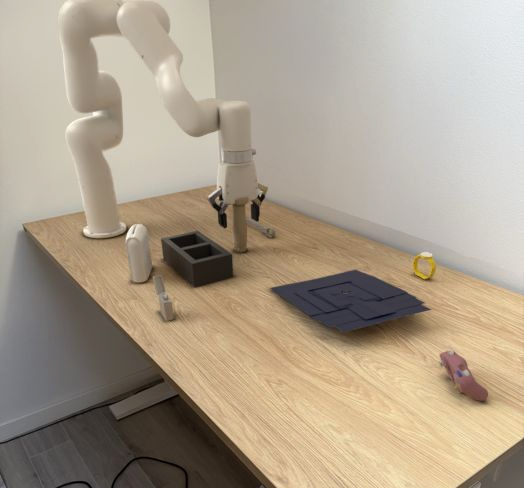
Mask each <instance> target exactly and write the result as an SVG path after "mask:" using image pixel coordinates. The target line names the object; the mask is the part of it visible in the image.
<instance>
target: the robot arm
mask: <svg viewBox="0 0 524 488" xmlns="http://www.w3.org/2000/svg"><path fill="white" fill-rule="evenodd" d="M57 30H58V31H57V32H58V36H59V41H60V47H61V51H62V62H63V71H64V72H63V73H64V82H65V91H66V99H67V102H68V104H69V106H70V108H71V109H72V111H74V112H75V113H78V114H91V113H92V114H93V115H90V116H86V117H85V116H84V117H82V118H77V119H75V120H73V121H71V122H70V123H69V124H68V125H67V127H66V129H65V134H64V136H65V137H64V138H65V142H66V146H67V148H68V151H69V153H70V156H71V158H72V162H73V165H74V168H75V172H76V177H77V181H78V187H79V190H80V197H81V201H82V206H83V210H84V215H85V220H86V224H87V225H86V226H85V227H83V229H82V231H83V235H84V236H86V237H88V238H91V239H107V238H113V237H117V236H120V235H122V234H124V233H125V232H126V231H127V225H126V224H125V223H124V222H122V221H121V219H120V212H119V207H118V201H117V195H116V190H115V183H114V178H113V173H112V169H111V166H110V164H109V162H108V160H107V159H106V157H105V155H104V152H108V151H111V150H113V149H115V148H117V147H118V146H120V144H121V143H122V141H123V138H124V116H123V115H124V114H123V113H124V112H123V96H122V95H123V94H122V91H121V87H120V84H119V82H118V81H117V79H116V78H115V76H113V74H112V73H111V72H108V71H106V70H102V69H101V70H100V65H99V55H98V52H97V49H96V46H95V44H94V42H93V41H92V40H93V39H95V38H96V39H97V38H120V37H121V38H124V39H125V40H126V42H127V43H128V44H129V45H130V46H131V49H133V51H134V52H135V54H137V57H139V58H140V60H141V61H142V62H143V63H144V65H145V67H147V69H148V70H149V71H150V73H151V74H152V75H153V78H154V79H155V82H156V88H157V91H158V95H159V98H160V101H161V103H162V105H163V107H164V109H165V110H166V112H167V113H168V114H169V116H170V117H171V118H172V120H173V121H174V122H175V124H176V125H177V126H178V127H179V128H180V129H181V130H182V131H183V132H184V133H185V134H187V135H188V136H190V137H193V138H201V137H203V136H206V135H208V134H212V133H215V132H220V133H219V134H220V147H221V148H220V149H221V150H220V151H221V162H218V166H217V173H216V175H217V176H216V189H215V190H214V191H213V192H211V193H210V194H209V195H207V197H206V199H207V201H208V203H209V204H210V206H211V208H213V209H214V210H215V211H216V212H217V223H218V225H219V226H220V227H221V228H223V229H227V228H228V218H227V217H228V215H227V213H226V211H227V208H228V207H229V206H233V204H235V200H236V199H241V198H246V197H248V203H249V202H251V204H250V219H251V220H253V221H255V222H260V217H261V213H260V211H261V209H260V208H261V206H262V203H263V202H264V200H265V198H266V195H267V193H268V191H269V188H268V186H266V185H264V184H262V183H259V182H258V175H257V174H258V173H257V168H256V163H255V160H253V156H255V155H256V154H257V151H256V148H253V145H252V108H251V105H250V104H249V103H248V102H247V101H244V100H223V99H219V98H215V97H209V98H204V99H200V100H196V99H195V98H194V97H193V95H192V94H191V93H190V91H189V90H188V88H187V87H186V85H185V84H184V81H183V80H182V76H181V71H180V70H181V69H180V68H181V66H182V64H183V61H184V55H183V53H182V51H181V50H180V48H179V47H178V46H177V44H176V42H174V40H173V39H172V37H170V31H171V19H170V17H169V14H168V12H167V10H166V9H165V8H164V6H163V5H161V4H160V3H159V2H156V1H154V0H65V1H64V3H62V5H61V6H60V9H59V11H58V15H57ZM259 190H260V191H259ZM216 199H217V200H218V201H219V202H218V204H217V201H216Z"/></svg>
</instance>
